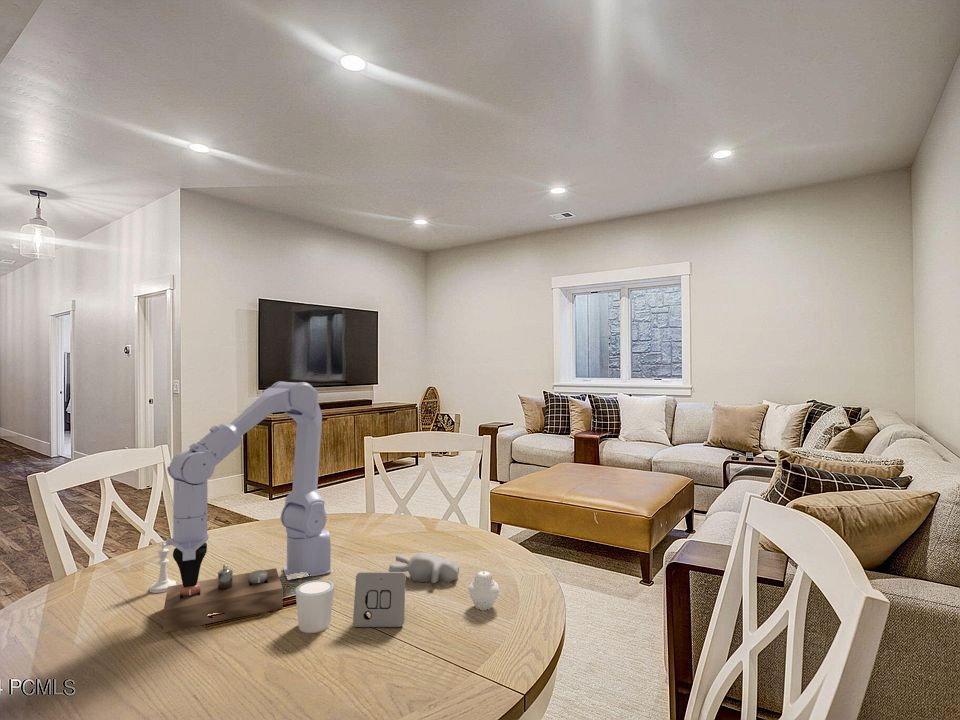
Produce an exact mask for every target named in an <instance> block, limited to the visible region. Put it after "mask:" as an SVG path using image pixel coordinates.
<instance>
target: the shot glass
mask: <svg viewBox="0 0 960 720" xmlns="http://www.w3.org/2000/svg"><path fill="white" fill-rule="evenodd" d="M334 589H335V583H334V582H332V581H330V580H328V579H327V580H326V579H315V580H309V581H305V582H303V583H301V584H298V586H296V587H295V592H294V593H295V600H296V609H297V610H296V613H297V623H298V624H297V625H298V629H299V631H300V632H302V633H306V634H309V633H310V634H313V633H319V632H322V631H325V630H326V629H328V628H329V627H330V626H331V621H332V612H333V601H334V594H335V593H334V592H335V590H334Z"/></svg>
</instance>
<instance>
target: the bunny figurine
mask: <svg viewBox="0 0 960 720" xmlns="http://www.w3.org/2000/svg"><path fill="white" fill-rule="evenodd" d="M395 561H396V562H398V563H392V564H390V565H389V568H388V572H405V573H408V574H409V576H410V578H411V579H412V581H414V582H419V583H428V582H431V584H436V583H437V582H440V583H441V584H449V583H451V582H453V581H454V580H457V579H458V576H459V573H460V567H461V566H460V565H457V564H456V561H454V560H453V559H451V558H448V557H447V558H445V557H442V556H435V555H434V554H432V553H429V552H418V553H416V554H415V555H414V556H412V557H411V558H410V557H408V556H406V555H403V554H396V556H395ZM401 563H402V564H401Z"/></svg>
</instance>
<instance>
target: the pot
mask: <svg viewBox="0 0 960 720" xmlns="http://www.w3.org/2000/svg"><path fill="white" fill-rule="evenodd" d="M228 567H229V566H228V564H223V565H222V569H220V570H219V571H218V572H217V578H218V590H227V589H230V588H231V587H232V576H233V569H231V568H228Z"/></svg>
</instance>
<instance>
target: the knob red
mask: <svg viewBox="0 0 960 720" xmlns="http://www.w3.org/2000/svg"><path fill="white" fill-rule="evenodd" d="M199 591H200V582H198V581H197V584H196V586H191V587H185V588H184V586H183V585H181V586H180V594H181V595H183V598H188V597H193V596H197V593H198V592H199Z"/></svg>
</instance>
